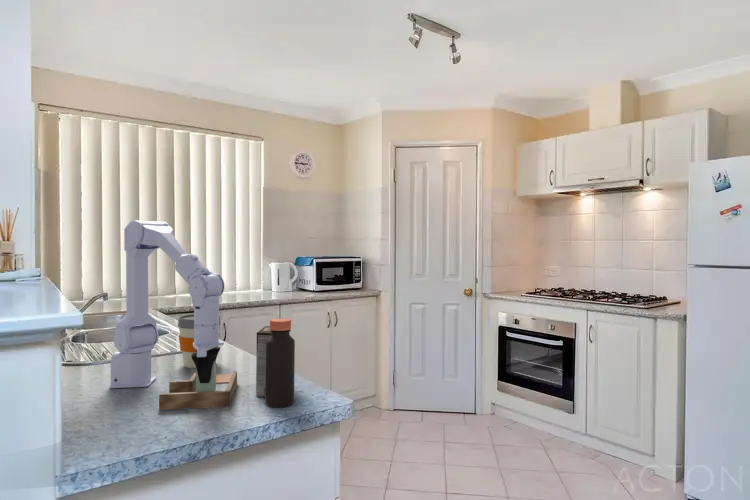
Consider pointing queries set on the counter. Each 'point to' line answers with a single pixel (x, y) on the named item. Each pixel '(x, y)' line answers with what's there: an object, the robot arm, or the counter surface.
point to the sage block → (207, 386)
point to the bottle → (280, 365)
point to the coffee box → (261, 360)
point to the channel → (196, 395)
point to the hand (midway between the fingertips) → (206, 380)
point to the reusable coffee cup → (187, 339)
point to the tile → (223, 378)
